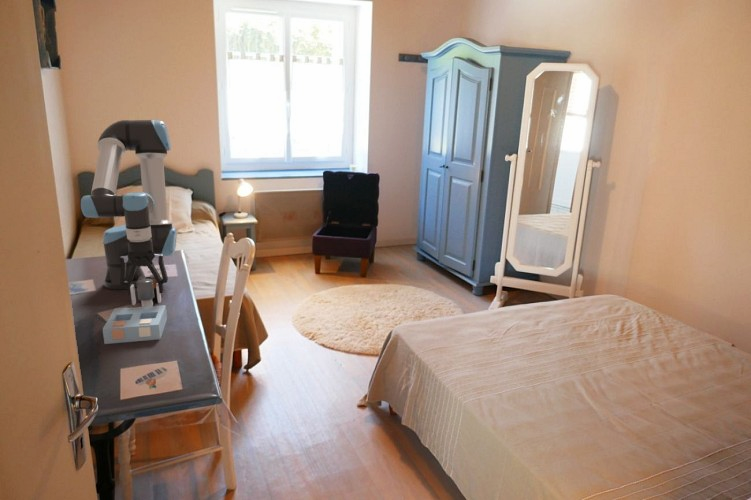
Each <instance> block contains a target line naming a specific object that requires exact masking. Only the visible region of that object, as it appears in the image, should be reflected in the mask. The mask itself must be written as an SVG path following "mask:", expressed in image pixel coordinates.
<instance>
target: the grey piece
mask: <svg viewBox="0 0 751 500" xmlns="http://www.w3.org/2000/svg"><path fill="white" fill-rule="evenodd" d="M136 284H137V287H136V289H137V299H138V300H139V301H140V300H141V302H140V304H141V307H148V306H154V303H153V301H152V299H153V298H154V297H155V296H154V287H153V280H152V279H141V280H138V281H137V282H136Z"/></svg>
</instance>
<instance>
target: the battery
mask: <svg viewBox="0 0 751 500" xmlns="http://www.w3.org/2000/svg"><path fill="white" fill-rule="evenodd" d="M141 279H152V280H153V287H154V296H155V297H154V298H153V299H152V301H153V304H154V303H158V299H157V290H156V285H157V281H156V279H155V278H154V276H153V274H149V275H148V276H146V275H145V276H141V277H139V279H138V280H141ZM139 302H140V303H141V300H139Z"/></svg>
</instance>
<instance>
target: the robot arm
mask: <svg viewBox="0 0 751 500" xmlns="http://www.w3.org/2000/svg"><path fill="white" fill-rule="evenodd" d="M96 148H97V149H98V157H97V163H96V166H95V171H94V177H93V183H92V187H91V188H92V189H91V191H90V192H91V193H90V194H88V195H83V196H82V198H81V200H80V208H81V212H82V215H83V216H84V217H86V218H98V219H99V218H114V217H119V218H121V217H124V223H125V224H123V225H117V226H115V227H110V228H108V229H106V230H105V231H104V232H103V234H102V239H103V243H102V244H103V248H104V249H103V250H104V254H105V262H106V270H105V275H104V278H103V283H104V287H105V288H106V289H107V290H108V289H109V290H117V291H118V290H126V292H127V295H128V296H130V299H131V305H132V306H135V305H136V303H137V297H136V291H135V290H136V289H135V288H137V284H136V282H137V281H138V279H139V277H141V276H145V277H146V275H145V273H144V271H143V268H142V267H147V268H148V269H149V271H150V273H151V275H153V276H154V278H155V279H156V281H157V285H156V290H157V299H158V302H157V303H158V304H161V302H162V294H163V293H164V284H167V283H168V281H169V276H168V273H167V270H166V266H165V263H164V257H172V256H173V255H174V254H175V251H176V246H177V235H178V234H177V228H176V227H175V226H173V223H172V222H171V221H170V220H169V218H168V207H167V206H168V205H167V193H166V192H167V191H166V181H165V180H166V177H165V167H164V165H165V164H164V163H165V162H164V159H165V158H166V157H167V156H168V152H169V151H171V149H172V147H171V139H170V136H169V131H168V129H167V125H166V123H165V122H164V121H162V120H154V119H153V120H152V119H145V120H144V119H140V120H135V119H134V120H133V119H131V120H127V119H123V120H119V121H116V122H113V123H112V124H110V125H109V126H107V127H106V128H105V130H103V132H101V134H100V136H99V138H98V141H97V147H96ZM127 151H131V152H132V151H134V153H135V156H136V157H137V158H138V159H139V163H140V176H141V189H142V192H137V191H136V192H128V193H125V194H117V187H118V181H119V176H120V175H119V174H120V167H121V162H122V161H121V160H122V157H123V156H124V155H125V154H126V152H127ZM154 259H156V260H155V261H157V262H158V267H159V270H160V273H159V272H158V270H157V268H156V267H155V265H154V262H153V260H154ZM160 274H161V275H160Z"/></svg>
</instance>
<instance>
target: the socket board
mask: <svg viewBox="0 0 751 500" xmlns="http://www.w3.org/2000/svg"><path fill="white" fill-rule="evenodd" d="M167 320H168V314H167V305H166V304H165V305H153V306H148V307H142V306H136V307H122V308H114V309H113V310H112V312H111V314H110V316H109V318H108V320H107V321H106V322H105V324H104V326H103V328H102V337H103V342H104V345H108V344H109V345H110V344H120V343H133V342H143V341H146V342H147V341H155V340H161V338H162V335H163V332H164V330H165V326H166V324H167Z"/></svg>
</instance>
